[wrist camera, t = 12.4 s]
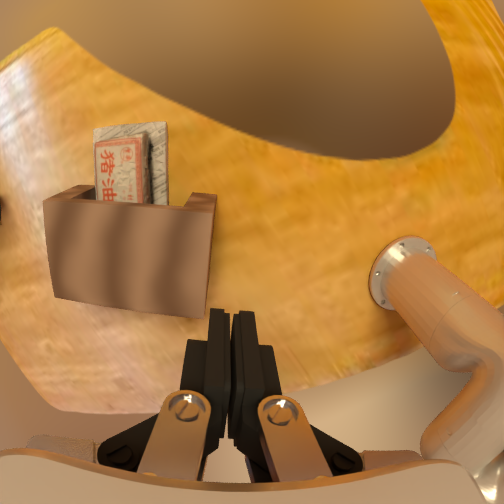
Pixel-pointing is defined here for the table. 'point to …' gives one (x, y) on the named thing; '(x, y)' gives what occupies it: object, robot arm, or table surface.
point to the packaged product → (131, 163)
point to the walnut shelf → (130, 252)
